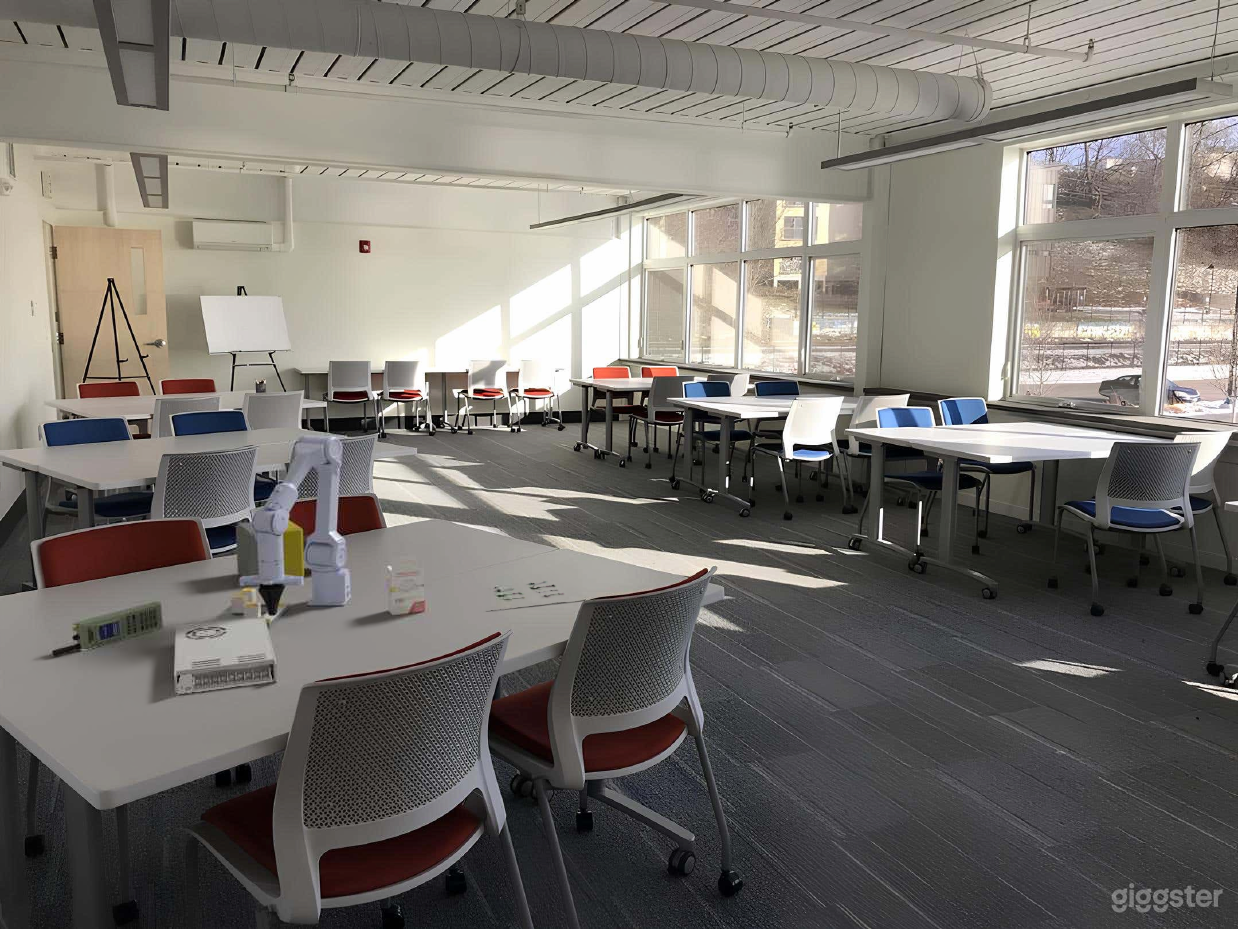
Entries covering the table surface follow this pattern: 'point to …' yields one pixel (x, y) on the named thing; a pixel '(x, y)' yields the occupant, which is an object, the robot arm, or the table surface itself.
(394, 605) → the ink cartridge box
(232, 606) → the switch mid
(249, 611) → the switch near
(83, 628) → the handheld radio
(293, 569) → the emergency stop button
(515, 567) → the table surface
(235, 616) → the switch unit
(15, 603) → the table surface
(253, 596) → the switch far
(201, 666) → the power supply unit
